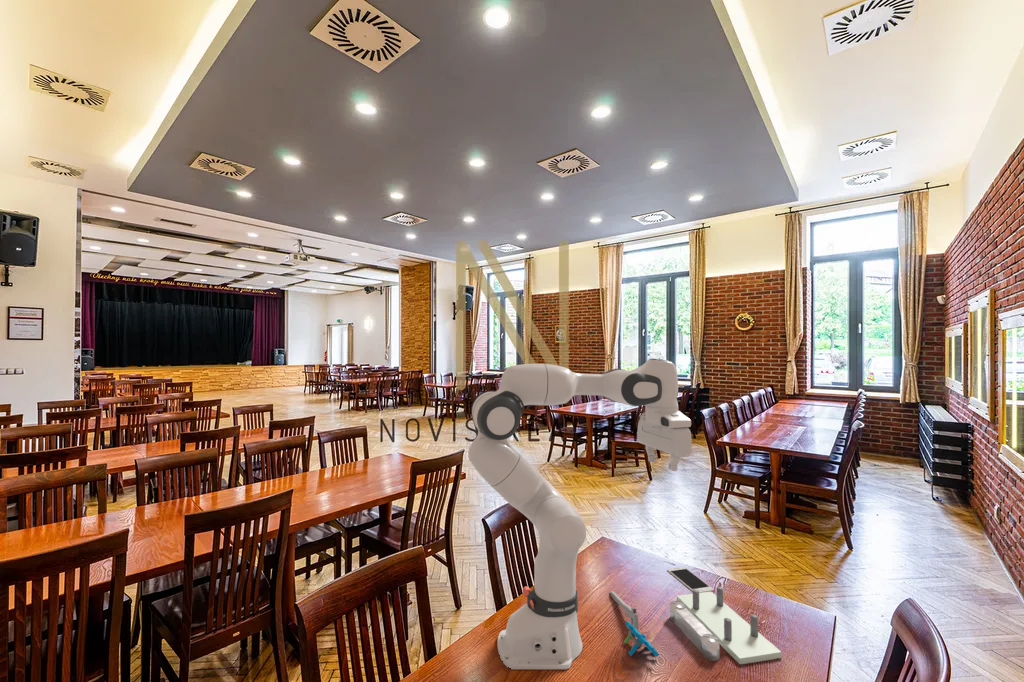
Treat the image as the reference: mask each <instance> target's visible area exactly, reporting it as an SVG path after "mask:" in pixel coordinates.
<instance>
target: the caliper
mask: <svg viewBox="0 0 1024 682" xmlns="http://www.w3.org/2000/svg"><path fill="white" fill-rule="evenodd" d="M609 594H610V596H611V598H612V599H613V600H614V601H615V602H616V604H618V605H619V606H620V607H621V609H622V610H623V611H624V612H625V616H626V617H627V618H629V621H630V622H629V623H630V624H632V625H633V626H634V627H635V628H636V629H637V631H638V632H639V616H638V613H637V608H635V606H630V605H629V604H627V603H626V602H625V601H624V600H623V599H622V597H620V596H619V595H618V593H616V591H613V590H611V591H609Z"/></svg>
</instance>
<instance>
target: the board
mask: <svg viewBox="0 0 1024 682" xmlns="http://www.w3.org/2000/svg"><path fill="white" fill-rule="evenodd" d="M676 601H677V602H681V603H683V604H684V605H685V608H686V609H687V610H688V611H689V612H690V613H691V614H692V615H693V616H694V617H695V618H696V619H697V620H698V621H699V622H700V623H701V624H702V625H703V626H704V627H705V628H706V629H707V630H708V631H709V632H710V633H711V634H712V635H713V636H715V637H717V638H718V639H719V646H721V647H722V649H723V650H725V651H726V652H727V653H728V654H729V655H730V656H731V657H732V658H733V660H735V662H737V663H738V664H739V665H746V664H752V663H759V662H764V661H770V660H777V658H778V659H782V657H783V654H782V651H781V650H780V649H779V648H777V646H775V645H774V644H773V643H772V642H770V641H769V640H768V638H766V637H765V636H763V635H762V634H761V633H760V632H759V617H758V615H756V614H749V615H750V616H749V619H750V621H749V622H750V623H748V621H746V620H745V619H744V618H743V617H742V616H740V615H739V614H738V613H737V612H736V611H734V610H733V609H732V608H731V607H730V606H728V605H727V604H726V603H725V602H724V588H723V587H722V586H716V594H715V593H713V591H712V592H703V593H699V591H698V590H695V589H694V590H693V592H692V593H688V594H680V595H679V594H678V595H676Z"/></svg>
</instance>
